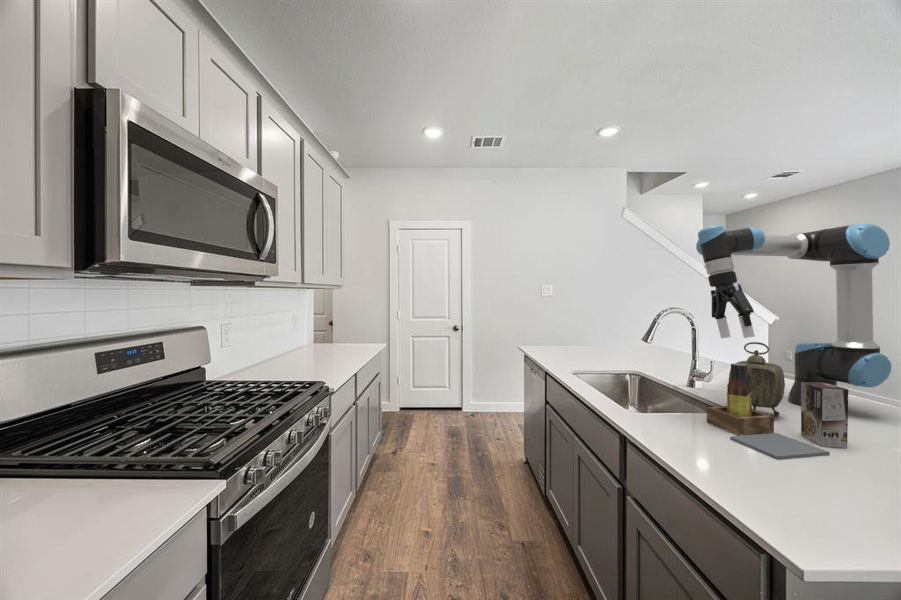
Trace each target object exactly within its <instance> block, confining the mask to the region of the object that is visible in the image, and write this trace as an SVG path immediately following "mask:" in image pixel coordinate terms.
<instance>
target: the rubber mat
mask: <svg viewBox="0 0 901 600" xmlns="http://www.w3.org/2000/svg"><path fill="white" fill-rule="evenodd" d="M729 439H730V440H731V441H733V442H736V443H738V444H740V445H742V446H745V447H747V448H750V449H752V450H754V451H757V452H758V453H761V454H763V455H766V456H768V457H771V458H773V459H775V460H786V459H787V460H789V459H797V458H798V459H799V458H810V457H812V456H813V457H821V456H822V455H824V456H830V455H831V453H830V451H828V450H825V449H822V448H820V447H817V446H814V445H811V444H808V443H805V442H804V441H800V440H797V439H795V438H792V437H789V436H786V435H785V434H781V433H779V432H774V433H769V434H756V435H743V436H739V435H735V436H730V437H729Z"/></svg>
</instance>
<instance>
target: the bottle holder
mask: <svg viewBox="0 0 901 600" xmlns="http://www.w3.org/2000/svg"><path fill="white" fill-rule="evenodd" d="M706 423H707V424H709V425H712V426H713V427H714V426H715V427H717V428H720V429H721V428H722V430H723V431H724V430H725V431H726V430H727V432H729V433H731V432H732V434H734V435H735V436H740V435H743V436H745V435H758V434H772V433H775V415H774V416H773V415H771V414H767V413H764V412H761V411H758V410H756V411H755V410H753V409H752V416H748V417H738V416H735V415H732V414H729V413H727V405H726V406H725V405H724V406H723V405H722V406H720V405H719V406H708V407H706Z"/></svg>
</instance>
